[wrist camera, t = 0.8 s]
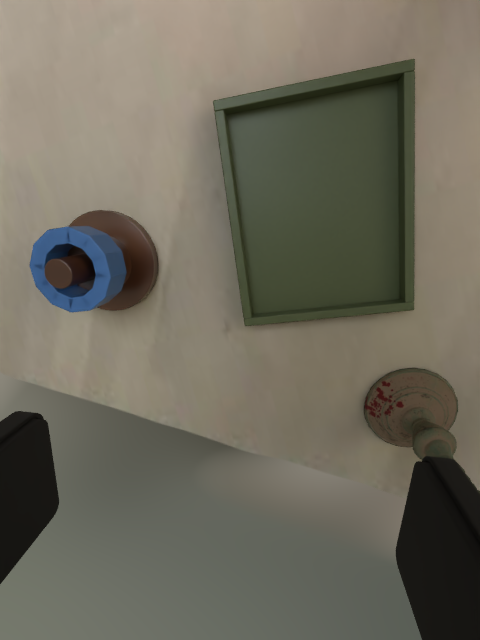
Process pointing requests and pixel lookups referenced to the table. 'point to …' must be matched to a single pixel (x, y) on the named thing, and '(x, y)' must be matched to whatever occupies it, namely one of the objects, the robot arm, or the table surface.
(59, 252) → the ring
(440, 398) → the candlestick holder
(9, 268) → the table surface
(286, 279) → the tray
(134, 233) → the stand
